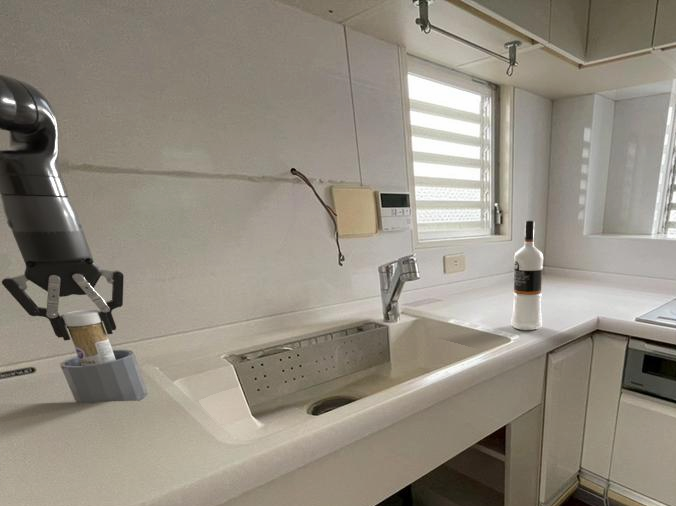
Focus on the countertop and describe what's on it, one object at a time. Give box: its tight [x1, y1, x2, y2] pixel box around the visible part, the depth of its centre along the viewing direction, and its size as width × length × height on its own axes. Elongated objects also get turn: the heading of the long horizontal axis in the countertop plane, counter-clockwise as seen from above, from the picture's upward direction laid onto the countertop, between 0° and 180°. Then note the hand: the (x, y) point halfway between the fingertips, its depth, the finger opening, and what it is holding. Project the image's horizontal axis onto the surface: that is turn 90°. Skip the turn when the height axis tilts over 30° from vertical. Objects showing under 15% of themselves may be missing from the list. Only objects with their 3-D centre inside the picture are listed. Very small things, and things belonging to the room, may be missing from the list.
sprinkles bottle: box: [60, 309, 116, 366], centre depth 68 cm, size 5×5×13 cm
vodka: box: [510, 220, 544, 331], centre depth 116 cm, size 9×9×30 cm
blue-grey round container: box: [59, 349, 148, 404], centre depth 70 cm, size 9×9×8 cm
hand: (88, 335), depth 68 cm, fingers closed on sprinkles bottle, 4 cm apart
